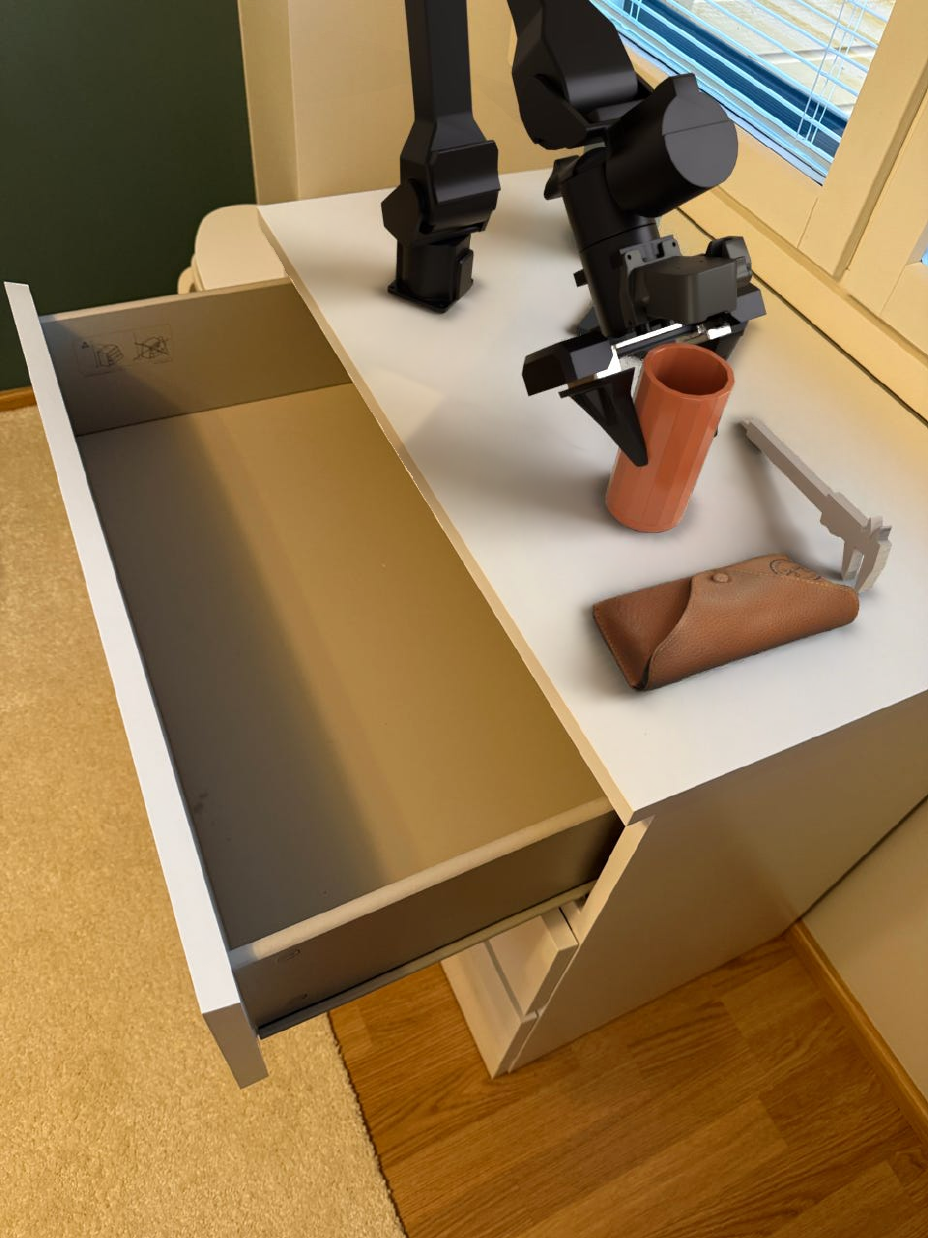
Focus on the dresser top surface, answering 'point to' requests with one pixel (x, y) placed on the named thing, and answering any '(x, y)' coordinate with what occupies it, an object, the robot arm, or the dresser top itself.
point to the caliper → (831, 511)
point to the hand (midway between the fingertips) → (677, 451)
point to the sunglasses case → (719, 618)
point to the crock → (670, 434)
